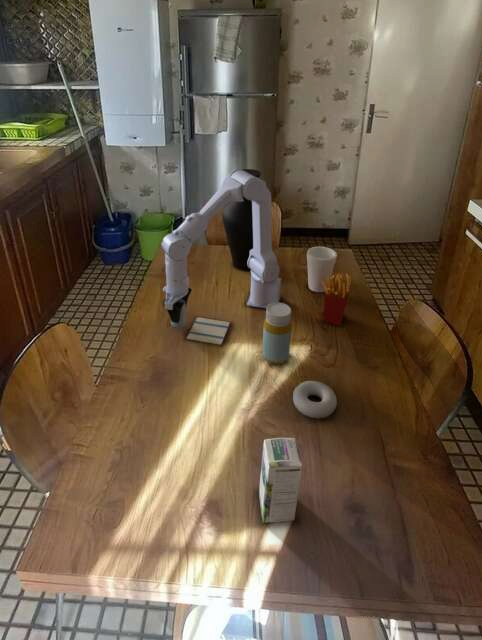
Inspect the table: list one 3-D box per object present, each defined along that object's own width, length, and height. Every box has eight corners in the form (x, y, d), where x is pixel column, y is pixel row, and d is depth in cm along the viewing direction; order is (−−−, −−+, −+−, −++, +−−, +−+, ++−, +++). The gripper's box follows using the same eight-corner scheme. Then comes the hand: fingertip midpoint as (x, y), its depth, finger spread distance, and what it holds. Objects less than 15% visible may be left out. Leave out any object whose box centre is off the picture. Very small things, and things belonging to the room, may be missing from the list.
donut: (333, 427, 95) (338, 394, 103) (334, 416, 93) (340, 383, 102) (288, 415, 98) (296, 383, 106) (289, 403, 96) (297, 373, 105)
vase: (224, 252, 168) (225, 164, 153) (268, 255, 167) (274, 166, 152) (218, 274, 153) (219, 179, 138) (267, 278, 152) (273, 181, 136)
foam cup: (299, 289, 145) (302, 254, 139) (309, 277, 152) (313, 244, 147) (326, 297, 141) (331, 262, 135) (336, 285, 148) (340, 251, 142)
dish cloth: (229, 323, 128) (229, 322, 128) (221, 344, 119) (221, 343, 119) (197, 318, 130) (197, 317, 130) (186, 339, 121) (186, 337, 121)
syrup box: (258, 492, 81) (261, 438, 75) (289, 490, 81) (295, 435, 75) (262, 524, 76) (267, 468, 70) (296, 521, 76) (303, 465, 70)
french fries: (343, 328, 126) (350, 284, 120) (315, 321, 129) (320, 278, 123) (347, 312, 134) (354, 269, 127) (320, 306, 136) (326, 264, 130)
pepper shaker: (188, 319, 127) (187, 296, 124) (183, 328, 123) (182, 304, 120) (173, 317, 128) (172, 293, 125) (168, 326, 124) (167, 302, 121)
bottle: (287, 367, 111) (291, 319, 105) (260, 363, 113) (263, 315, 106) (289, 349, 117) (293, 303, 111) (263, 346, 119) (266, 300, 112)
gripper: (172, 261, 126) (174, 300, 132) (152, 287, 113) (155, 329, 119) (195, 264, 125) (196, 304, 131) (178, 291, 112) (180, 333, 118)
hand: (178, 316), depth 125 cm, fingers closed on pepper shaker, 4 cm apart
